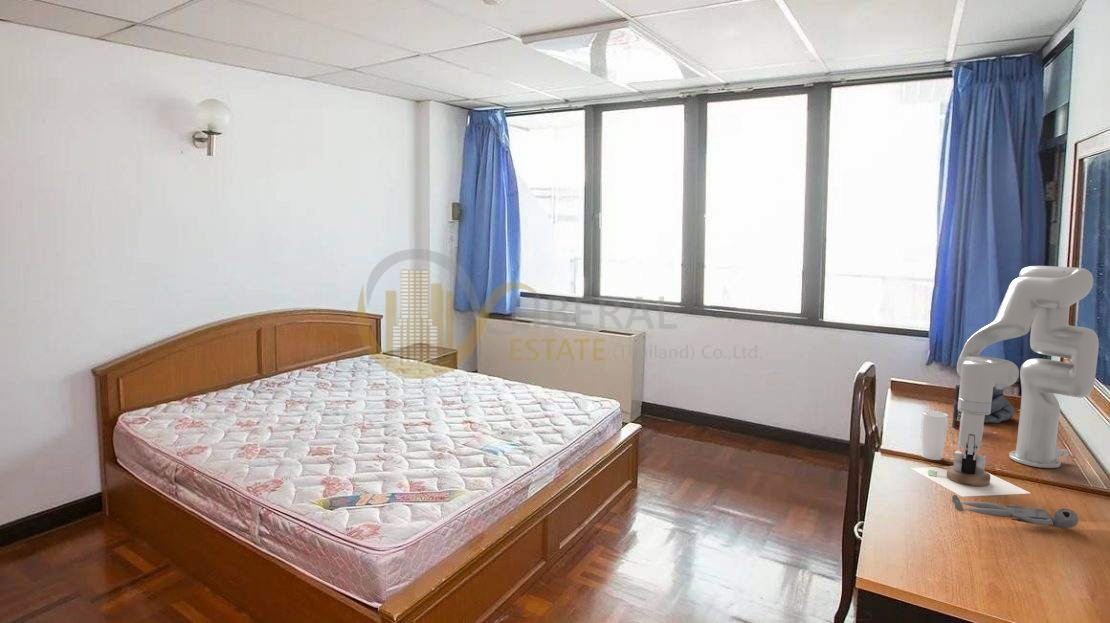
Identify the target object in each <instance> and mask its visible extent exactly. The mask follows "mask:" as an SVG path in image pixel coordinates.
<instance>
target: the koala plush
mask: <svg viewBox="0 0 1110 623" xmlns="http://www.w3.org/2000/svg"><path fill="white" fill-rule="evenodd" d="M1005 388H1006V387H993V394H992V403H991V413H990V414H989V415H985V418H984V424H986V423H993V424H994V423H995V424H999V423H1001V422H1002V423H1003V422H1006V421H1009V420H1011V419H1013V418H1014V416H1015V410H1014V407H1013V406H1012V404H1011V403H1010V402H1009V401H1008V400H1007V399H1006V398H1005V395H1004V390H1005ZM952 408H953V409H954V403H953V405H952Z"/></svg>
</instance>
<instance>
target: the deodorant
mask: <svg viewBox="0 0 1110 623" xmlns="http://www.w3.org/2000/svg"><path fill="white" fill-rule="evenodd" d="M959 389H960V384H957V385H955V391H954V392H955V393H954V401H953V402H954V403H953V404H954V408H953V414H952V424H951V428H953V429H956V430H960V420H961V413H962V411H959V410H958V399H959Z"/></svg>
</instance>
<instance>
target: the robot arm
mask: <svg viewBox="0 0 1110 623" xmlns="http://www.w3.org/2000/svg"><path fill="white" fill-rule="evenodd" d="M1093 276H1094V275H1093V274H1092V273H1091V271H1090V270H1088V269H1086V268H1083V267H1072V266H1055V265H1054V266H1053V265H1029V266H1026V267H1023V268H1021V270H1019V274H1018V277H1017V278H1015V279H1013V280H1012V281H1011V282H1010V284H1009V285H1008V288H1007V290H1006V292H1005V294H1004V297H1003V299H1002V302H1001V304H1000V306H999V308H998V311H997V313H996V315H995V318H994V320H993V321H992V322H991V323H989V324H987V325H985V326H983V327H981V328H979V329H978V330H977V331H976V332H975V333H973V334H972V335H971V336H970V337H969V338H968V339H967V341H965V343H964V345H963V348H962V350H961V352H960V354H959V357H958V359H957V362H956V372H957V375H958V376H959V377H960V379H959V385H960V389H959V399H958V410H959V411H962V413H961V420H960V430H959V429H958V430H959V433H958V442H957V444H958V445H957V446H958V447H959V448H960V449H961V448H963V452H964V458H962V467H961V472H963V473H968V474H975V469H976V460H975V459H976V454H977V451H979V450H980V449H981V444H982V440H983V434H984V427H985V423H984V418H985V415H989V414H990V413H991V403H992V394H993V387H1005V388H1007V387H1010V386H1013V385H1014V384H1015V383H1016V382H1017V380H1018V379H1019V378H1020V387H1021V394H1020V396H1021V399H1020V410H1019V417H1018V428H1017V438H1016V448H1015V450H1012V451H1010V452H1009V453H1008V455H1009V457H1008V458H1010V459H1011V460H1012V461H1014V462H1016V463H1019V464H1022V465H1026V466H1029V467H1035V468H1042V469H1057V468H1059V467H1061V462H1062V461H1060V460H1059V457H1067V456H1069V455H1070V453H1069V450H1068V449H1066V448H1065V449H1064V448H1063V449H1059V448H1057V439H1058V430H1059V421H1060V415H1061V414H1060V413H1061V406H1060V402H1059V400H1058V399H1057V398H1056V396H1055V394H1057V395H1061V396H1062V395H1063V396H1068V397H1072V398H1079V399H1080V398H1086V397H1088V396H1089V395H1091V393H1092V392H1093V390H1094V385H1095V382H1096V373H1097V372H1096V371H1097V366H1098V365H1097V364H1098V358H1099V357H1098V356H1099V348H1100V347H1099V346H1100V341H1099V337H1098V335H1097V333H1096V332H1095V330H1093V329H1092V328H1088V327H1084V326H1079V325H1078V326H1076V325H1070V323H1069V317H1070V307H1071V306H1073V305H1074V304H1075V303H1077V302H1079V301H1081V300H1082V299H1084V298H1086V297H1087V296H1088V295H1089V293H1090V292H1091V290H1092V289H1093V287H1094V286H1093V285H1094V277H1093ZM1029 332H1030V336H1029V337H1030V339H1029V345H1030V349H1031V350H1032V351H1033V352H1034V353H1037V354H1040V355H1044V356H1045V355H1046V356H1051V357H1057V358H1063V359H1070V360H1071V362H1072V363H1071V362H1065V361H1061V360H1053V359H1048V358H1047V359H1046V358H1030V359H1027V360H1025V361H1024V362H1023V363H1022V364H1021V366H1020V369H1019V367H1018V366H1017V365H1016V364H1015V363H1014V362H1012V361H1010V360H1008V359H1004V358H1003V359H1002V358H997V357H992V356H991V357H990V356H987V355H986V356H985V355H981V353H982V351H983V350H984V349H985V348H987V347H988V346H992V345H993V344H995V343H998V342H1001V341H1002V342H1003V341H1006V340H1011V339H1015V338H1021V337H1023V336H1025V335H1027V334H1028V333H1029Z"/></svg>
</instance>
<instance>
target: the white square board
mask: <svg viewBox="0 0 1110 623" xmlns="http://www.w3.org/2000/svg"><path fill="white" fill-rule="evenodd" d="M949 466H950V465H949ZM949 466H947V467H949ZM909 469H911V470H912V471H914V472H916V473H917V474H920V475H921V476H923V477H925V478H927V479H929V480H931V481H932V482H934V483H936V484H938V485H939V486H942V488H943V487H944V488H945V489H947V490H948V491H950V492H952V493H954V494H955V495H957V496H960V497H961V498H963V497H966V498H967V497H984V496H985V497H986V496H1006V495H1009V496H1010V495H1027V494H1030V495H1031V494H1032V493H1031V492H1029V491H1027V490H1025V489H1023V488H1021V487H1019V486H1017V485H1015V484H1013V483H1010V482H1008V481H1006V480H1005V479H1002V478H1000V477H999V476H996V475H995V474H994V475H993V474H991V473H989V472H988V471H986V472H987V473H989V474H990V484H989V485H987V486H971V485H965V484H961V483H958V482H955V481H953V480H951V479H949V478H948V477H947V469H942V468H937V467H932V466H929V467H926V466H925V467H909Z"/></svg>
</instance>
